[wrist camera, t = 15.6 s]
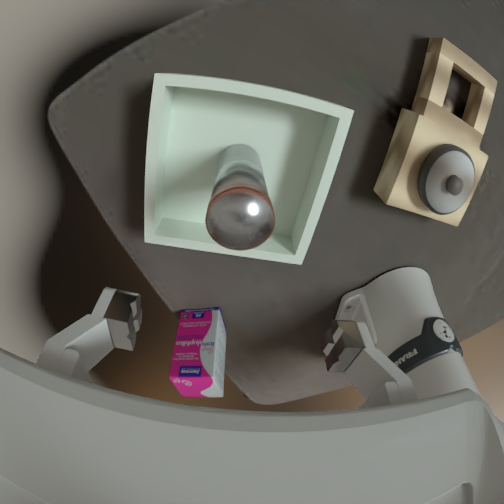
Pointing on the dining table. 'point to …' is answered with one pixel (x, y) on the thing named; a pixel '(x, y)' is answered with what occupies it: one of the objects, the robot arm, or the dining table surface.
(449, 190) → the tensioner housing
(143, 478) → the robot arm
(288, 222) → the tray
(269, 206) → the lock pin
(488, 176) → the dining table surface
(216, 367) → the supplement box
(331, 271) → the dining table surface
